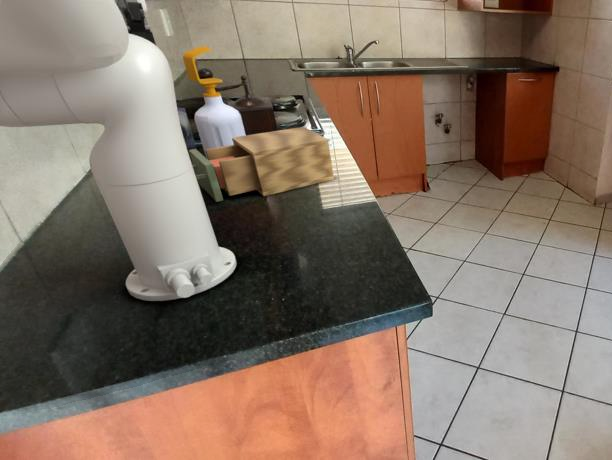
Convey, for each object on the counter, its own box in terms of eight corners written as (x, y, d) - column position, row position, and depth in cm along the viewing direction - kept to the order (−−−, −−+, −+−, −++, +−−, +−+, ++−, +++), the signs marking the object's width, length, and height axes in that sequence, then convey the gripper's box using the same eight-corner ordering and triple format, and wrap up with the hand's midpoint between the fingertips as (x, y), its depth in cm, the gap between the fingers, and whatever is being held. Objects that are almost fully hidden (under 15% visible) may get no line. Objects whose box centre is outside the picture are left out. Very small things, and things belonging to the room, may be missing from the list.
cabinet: (263, 196, 84) (252, 152, 80) (242, 179, 91) (231, 137, 87) (334, 179, 94) (327, 139, 90) (310, 164, 101) (303, 126, 97)
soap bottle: (258, 155, 104) (231, 48, 93) (219, 165, 98) (185, 50, 86) (238, 148, 108) (210, 44, 97) (199, 157, 102) (164, 46, 90)
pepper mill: (277, 131, 123) (263, 65, 114) (281, 142, 115) (266, 71, 106) (214, 136, 116) (194, 66, 107) (213, 148, 108) (191, 73, 99)
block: (220, 189, 82) (214, 166, 80) (213, 182, 84) (207, 160, 82) (246, 183, 85) (240, 161, 82) (238, 177, 87) (233, 156, 85)
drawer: (183, 210, 76) (169, 171, 72) (168, 191, 82) (155, 155, 79) (290, 184, 88) (283, 150, 84) (270, 170, 94) (263, 137, 91)
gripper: (50, -79, 60) (100, 52, 68) (61, -90, 49) (118, 66, 57) (119, -71, 64) (158, 51, 73) (142, -80, 54) (184, 63, 62)
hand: (140, 57), depth 65 cm, fingers open, 9 cm apart
